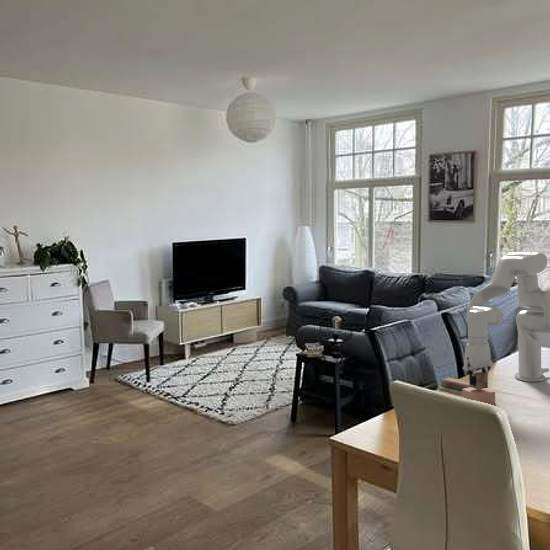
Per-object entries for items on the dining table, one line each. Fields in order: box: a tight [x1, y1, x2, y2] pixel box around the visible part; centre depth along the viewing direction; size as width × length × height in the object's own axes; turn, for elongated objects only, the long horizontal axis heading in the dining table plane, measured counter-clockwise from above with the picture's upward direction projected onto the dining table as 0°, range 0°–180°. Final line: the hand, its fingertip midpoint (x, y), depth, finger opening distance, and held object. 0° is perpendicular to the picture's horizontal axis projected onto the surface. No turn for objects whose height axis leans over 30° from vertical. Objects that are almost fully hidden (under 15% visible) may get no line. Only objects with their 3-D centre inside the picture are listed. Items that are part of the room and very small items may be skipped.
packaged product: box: [438, 376, 470, 396], centre depth 239 cm, size 18×5×10 cm
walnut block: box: [468, 369, 489, 389], centre depth 224 cm, size 5×5×6 cm
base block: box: [461, 387, 496, 405], centre depth 224 cm, size 9×9×5 cm
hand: (478, 383), depth 224 cm, fingers closed on walnut block, 4 cm apart
